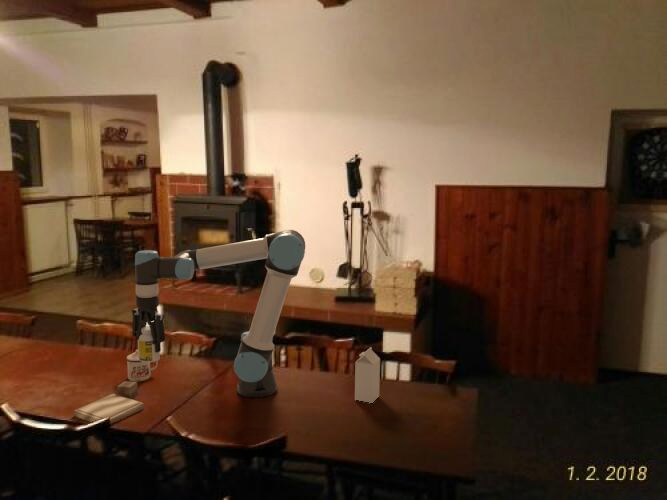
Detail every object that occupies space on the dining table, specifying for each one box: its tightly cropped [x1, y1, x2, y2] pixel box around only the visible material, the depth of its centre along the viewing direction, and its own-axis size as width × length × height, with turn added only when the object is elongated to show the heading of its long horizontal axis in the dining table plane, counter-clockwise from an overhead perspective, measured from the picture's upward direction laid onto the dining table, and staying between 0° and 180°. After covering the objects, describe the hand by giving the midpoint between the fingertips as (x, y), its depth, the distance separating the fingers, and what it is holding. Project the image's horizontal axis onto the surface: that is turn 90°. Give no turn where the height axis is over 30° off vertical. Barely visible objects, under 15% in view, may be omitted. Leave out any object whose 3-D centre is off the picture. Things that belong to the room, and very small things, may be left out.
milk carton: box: [354, 347, 381, 404], centre depth 199 cm, size 7×7×19 cm
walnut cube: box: [117, 380, 139, 400], centre depth 200 cm, size 5×5×5 cm
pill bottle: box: [139, 325, 154, 363], centre depth 190 cm, size 6×6×12 cm
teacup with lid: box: [125, 349, 159, 383], centre depth 218 cm, size 12×9×12 cm
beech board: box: [73, 393, 145, 424], centre depth 188 cm, size 16×16×2 cm
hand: (149, 358), depth 191 cm, fingers closed on pill bottle, 6 cm apart
